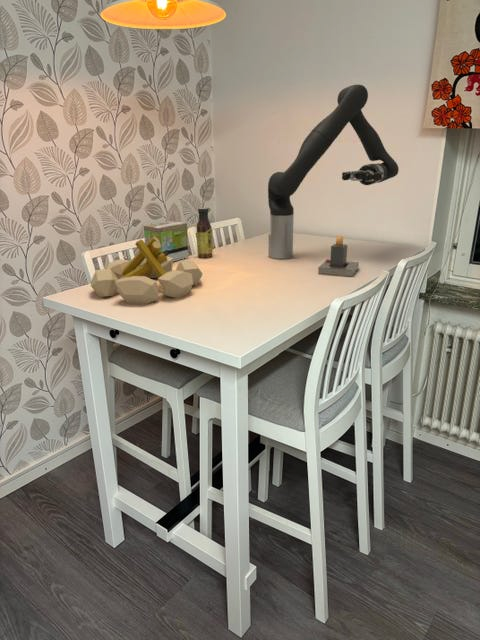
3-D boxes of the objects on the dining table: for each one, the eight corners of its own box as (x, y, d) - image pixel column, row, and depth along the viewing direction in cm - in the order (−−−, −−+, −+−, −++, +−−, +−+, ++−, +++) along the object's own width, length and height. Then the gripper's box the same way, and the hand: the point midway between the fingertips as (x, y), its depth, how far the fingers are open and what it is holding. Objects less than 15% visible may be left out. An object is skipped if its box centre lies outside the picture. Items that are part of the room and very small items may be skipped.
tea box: (163, 265, 191) (160, 227, 186) (145, 262, 197) (142, 225, 192) (189, 258, 202) (187, 222, 197) (172, 255, 208) (169, 220, 203)
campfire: (220, 283, 168) (218, 233, 162) (153, 312, 141) (148, 254, 135) (144, 270, 186) (140, 225, 179) (72, 294, 159) (64, 242, 153)
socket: (318, 274, 175) (318, 265, 174) (326, 266, 185) (326, 258, 184) (351, 277, 170) (352, 268, 169) (358, 268, 181) (358, 260, 180)
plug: (330, 270, 177) (331, 237, 173) (333, 267, 181) (335, 235, 176) (342, 272, 175) (344, 238, 171) (345, 269, 179) (347, 236, 175)
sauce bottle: (212, 258, 200) (210, 209, 193) (196, 258, 201) (194, 209, 194) (213, 254, 207) (211, 206, 200) (198, 255, 207) (196, 207, 200)
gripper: (353, 163, 190) (337, 166, 177) (390, 164, 183) (375, 166, 170) (352, 183, 193) (336, 187, 180) (388, 184, 185) (374, 189, 173)
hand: (355, 177), depth 175 cm, fingers open, 8 cm apart
